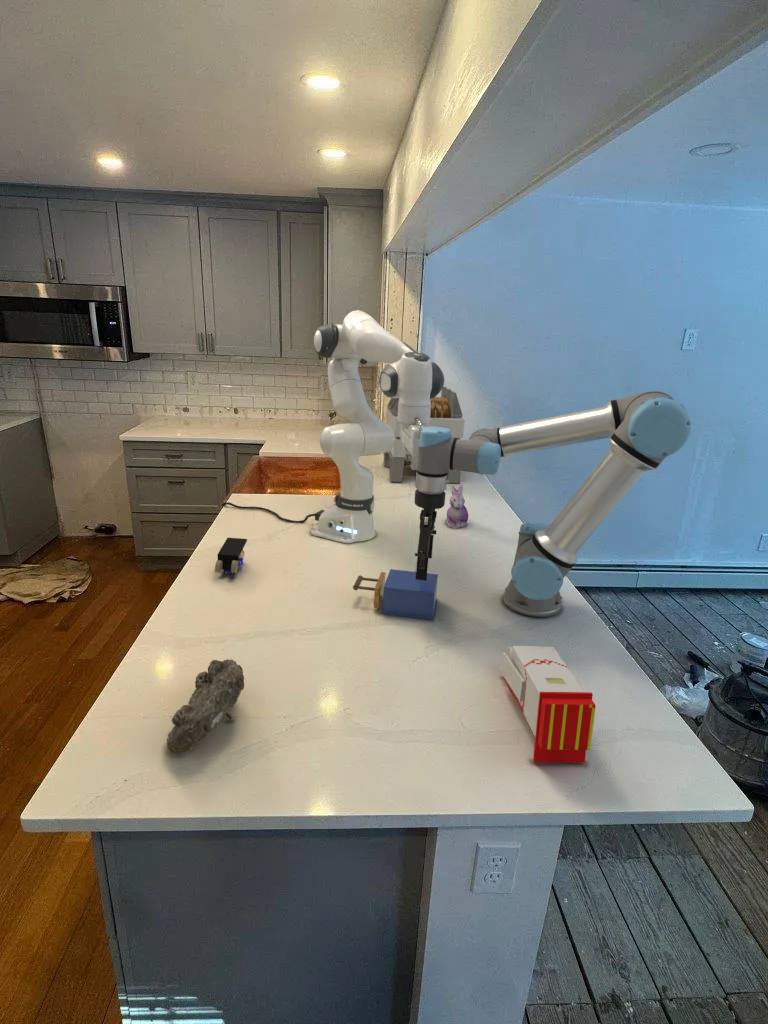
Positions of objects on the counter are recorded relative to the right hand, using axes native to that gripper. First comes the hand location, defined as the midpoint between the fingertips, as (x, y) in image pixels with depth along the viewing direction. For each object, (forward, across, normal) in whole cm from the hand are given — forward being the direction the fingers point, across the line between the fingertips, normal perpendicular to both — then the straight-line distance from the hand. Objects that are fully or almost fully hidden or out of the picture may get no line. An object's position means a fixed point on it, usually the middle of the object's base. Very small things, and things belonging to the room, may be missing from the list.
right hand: (423, 568), depth 147 cm
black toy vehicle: (+12, +9, +57) cm, 59 cm away
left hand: (-22, +19, +7) cm, 30 cm away
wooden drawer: (+11, 0, +9) cm, 14 cm away
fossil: (+12, -52, +34) cm, 63 cm away
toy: (+11, -36, -27) cm, 47 cm away
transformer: (+12, +131, +15) cm, 132 cm away
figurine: (+12, +66, -6) cm, 67 cm away
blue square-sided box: (+12, 0, +3) cm, 12 cm away
